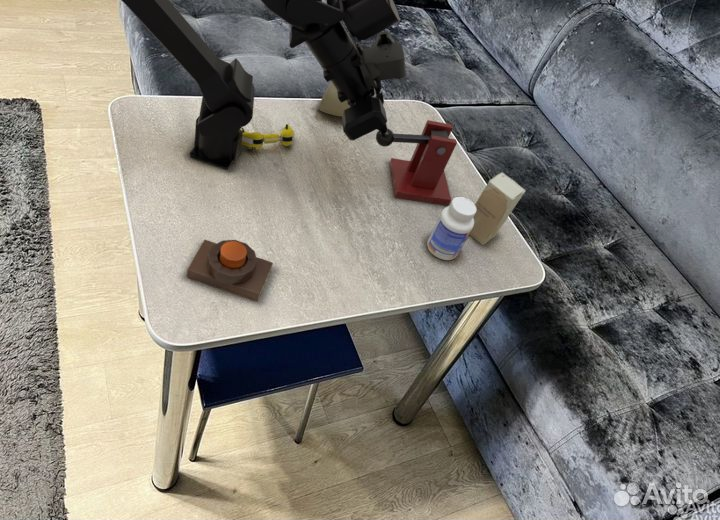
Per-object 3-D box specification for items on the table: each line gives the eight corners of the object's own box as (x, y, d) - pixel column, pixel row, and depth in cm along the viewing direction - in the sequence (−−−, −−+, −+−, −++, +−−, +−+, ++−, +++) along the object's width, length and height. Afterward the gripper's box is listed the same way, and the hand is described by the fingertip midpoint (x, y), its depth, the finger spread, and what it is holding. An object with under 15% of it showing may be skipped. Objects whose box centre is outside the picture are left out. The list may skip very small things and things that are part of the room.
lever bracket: (394, 197, 101) (417, 143, 92) (389, 163, 107) (409, 109, 98) (448, 205, 103) (475, 153, 95) (440, 172, 109) (464, 120, 101)
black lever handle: (375, 149, 97) (378, 135, 94) (373, 138, 99) (376, 123, 96) (445, 153, 98) (450, 138, 96) (442, 142, 100) (446, 127, 98)
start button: (215, 263, 78) (216, 255, 76) (224, 246, 80) (226, 237, 79) (240, 272, 78) (241, 263, 76) (248, 254, 80) (250, 246, 79)
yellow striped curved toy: (246, 156, 96) (246, 135, 95) (233, 144, 101) (232, 124, 99) (301, 150, 101) (302, 130, 99) (286, 139, 106) (287, 120, 104)
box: (460, 227, 100) (487, 179, 92) (473, 217, 103) (501, 170, 95) (484, 246, 99) (513, 199, 91) (497, 236, 101) (527, 189, 93)
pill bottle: (458, 264, 94) (483, 222, 87) (427, 257, 93) (449, 214, 86) (455, 239, 98) (479, 197, 91) (425, 233, 97) (446, 190, 90)
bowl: (343, 138, 112) (311, 118, 111) (362, 106, 117) (331, 87, 116) (364, 104, 103) (329, 82, 103) (382, 71, 109) (349, 50, 108)
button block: (186, 278, 79) (187, 261, 76) (204, 246, 83) (205, 229, 80) (257, 302, 79) (261, 286, 77) (271, 269, 83) (275, 253, 81)
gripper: (394, 62, 76) (439, 144, 87) (379, -5, 88) (421, 74, 99) (320, 100, 80) (372, 175, 90) (316, 31, 92) (363, 104, 102)
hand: (384, 129), depth 95 cm, fingers closed
